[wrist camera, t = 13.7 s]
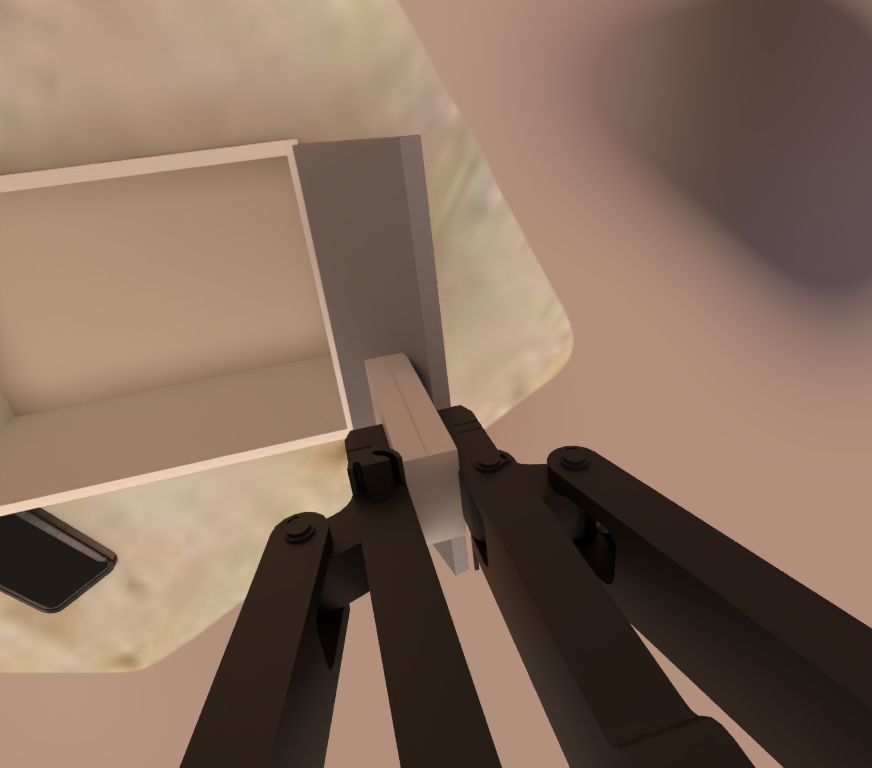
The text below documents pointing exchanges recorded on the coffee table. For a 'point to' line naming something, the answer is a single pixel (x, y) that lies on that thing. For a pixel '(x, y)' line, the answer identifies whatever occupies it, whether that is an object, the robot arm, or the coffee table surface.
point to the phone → (48, 560)
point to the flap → (377, 268)
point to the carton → (159, 322)
